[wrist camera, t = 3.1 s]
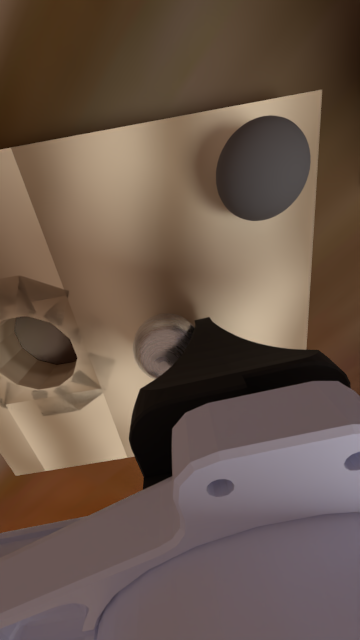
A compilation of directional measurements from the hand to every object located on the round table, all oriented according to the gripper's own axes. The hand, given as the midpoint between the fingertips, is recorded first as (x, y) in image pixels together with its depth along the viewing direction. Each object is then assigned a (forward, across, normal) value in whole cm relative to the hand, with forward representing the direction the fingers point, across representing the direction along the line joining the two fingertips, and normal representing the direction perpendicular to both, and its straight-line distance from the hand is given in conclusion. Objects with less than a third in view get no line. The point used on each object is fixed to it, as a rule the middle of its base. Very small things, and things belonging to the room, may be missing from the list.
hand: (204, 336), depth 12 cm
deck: (+4, +4, 0) cm, 6 cm away
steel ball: (0, +2, 0) cm, 2 cm away
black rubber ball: (0, -3, -6) cm, 7 cm away
